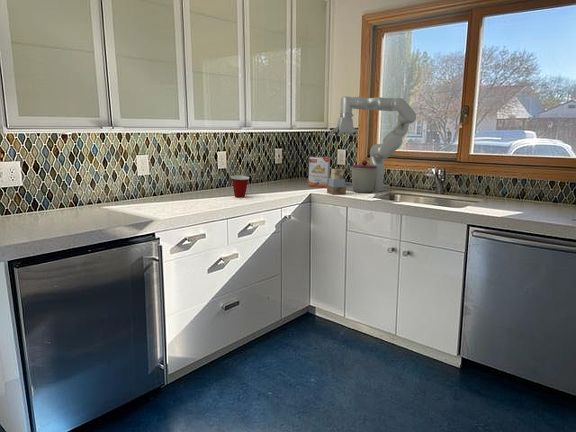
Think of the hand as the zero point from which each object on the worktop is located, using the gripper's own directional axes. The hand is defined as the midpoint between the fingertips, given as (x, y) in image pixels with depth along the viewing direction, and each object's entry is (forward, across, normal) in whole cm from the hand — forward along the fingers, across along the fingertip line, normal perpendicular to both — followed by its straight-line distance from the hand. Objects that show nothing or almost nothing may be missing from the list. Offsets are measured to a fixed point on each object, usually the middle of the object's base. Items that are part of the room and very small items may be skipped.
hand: (344, 142), depth 293 cm
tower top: (+28, +12, +15) cm, 34 cm away
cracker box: (+32, +9, -19) cm, 39 cm away
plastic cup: (+32, +76, +19) cm, 85 cm away
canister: (+32, -10, +11) cm, 36 cm away
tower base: (+33, +12, +15) cm, 38 cm away
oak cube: (+23, +12, +16) cm, 30 cm away
